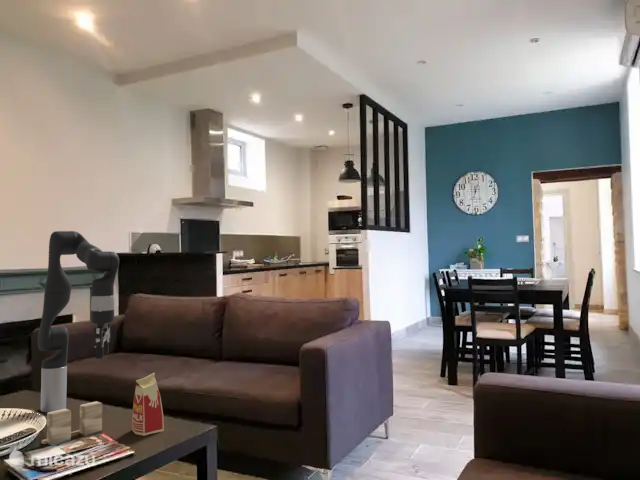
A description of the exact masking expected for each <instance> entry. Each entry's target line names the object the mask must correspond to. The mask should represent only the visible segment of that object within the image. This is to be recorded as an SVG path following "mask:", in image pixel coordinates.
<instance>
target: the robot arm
mask: <svg viewBox="0 0 640 480" xmlns="http://www.w3.org/2000/svg"><path fill="white" fill-rule="evenodd" d="M48 241H49V242H48V260H47V261H48V262H47V263H48V265H47V274H46V279H45V280H46V282H45V286H44V294H43V307H42V308H43V309H42V315H41V321H40V324H39V329H38V334H37V347H38V350H40V351H42V352H46V351H56V352H55V353H54V354H52V355H51V356H49V357H47V358H44V359H43V360H42V361H41V374H40V375H41V376H40V377H41V380H40V381H41V383H40V386H41V387H40V412H42V413H49V412H53V411H57V410H61V409H67V388H68V387H67V385H68V384H67V382H68V381H67V380H68V378H67V377H68V375H67V374H68V354H69V353H68V352H69V351H68V350H69V337H70V336H69V335H70V334H69V330H68V328H67V326H55V327H52V325H53V322H54V321H55V319H56V318H57V317H58V316H59V314H60V313H61V312H62V311H63V310H64V309H65V308H66V306H67V305H68V304H69V302H70V300H71V293H72V283H71V280H70V279H69V277H68V275H67V274H66V272H65V271H64V269H63V267H62V264H61V257H62V256H67V255H69V256H71V255H76V257H77V259H78V260H79V261H81V262H82V263H84V264H85V265H86V267H87V270H89V271H91V272H95V273H97V272H98V273H101V272H104V275H103V276H102V277H99V278H95V279H93V280H92V282H91V300H90V323H91V324H94V325H95V324H96V327H94V329H93V347H94V348H95V359H96V360H97V359H98V360H99V359H100V360H102V359H103V358H104V355H108V354H109V346H110V345H109V343H110V341H111V324H112V323H114V322H115V298H114V297H115V296H114V294H115V291H114V290H115V289H114V287H115V286H114V285H115V284H114V283H115V280H116V276H117V272H118V270H119V266H120V258H119V255H118V254H117V252H115V251H103V250H102V249H101V248H100V247H97V246H95V245H93V244H92V243H90V242H89V241H88V239H86V238H85V237H84V236H83V235H82V234H81V233H79V232H78V231H73V230H63V231H62V230H57V231H53V232H52V233H51V235H50V236H49V240H48Z"/></svg>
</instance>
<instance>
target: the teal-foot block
mask: <svg viewBox="0 0 640 480" xmlns="http://www.w3.org/2000/svg"><path fill="white" fill-rule="evenodd" d="M46 414H47V415H46V439H47V443H46V444H47V445H49V446H52V447H54V446H57V445H61V444H64V443H68V442H71V440H72V436H71V432H72V410H70V409H68V408H65V409H61V410H57V411H53V412H46Z"/></svg>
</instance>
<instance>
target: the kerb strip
mask: <svg viewBox="0 0 640 480" xmlns="http://www.w3.org/2000/svg"><path fill="white" fill-rule="evenodd" d="M77 435H80V434H79V429H77V430H74V431H71V437H74V436H77ZM40 443H41V444H42V445H45V444H47V438H45V439H41V442H40Z"/></svg>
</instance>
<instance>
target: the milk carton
mask: <svg viewBox="0 0 640 480" xmlns="http://www.w3.org/2000/svg"><path fill="white" fill-rule="evenodd" d="M155 374H156V372H153V373H150V374H149V375H147V376H145V377H143V378H140V379H136V380H135V382H136V385H135V391H134V397H133V406H132V413H131V430H132V432H133V433H134V434H135V435H138V436H144V437H145V436H149V435H151V434H156V433H162V432H164V431H165V430H164V429H165V426H164V412H163V411H164V410H163V405H162V397H161V393H160V391H159V387H158V386H159V385H158V383H157V380H156V377H155Z"/></svg>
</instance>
